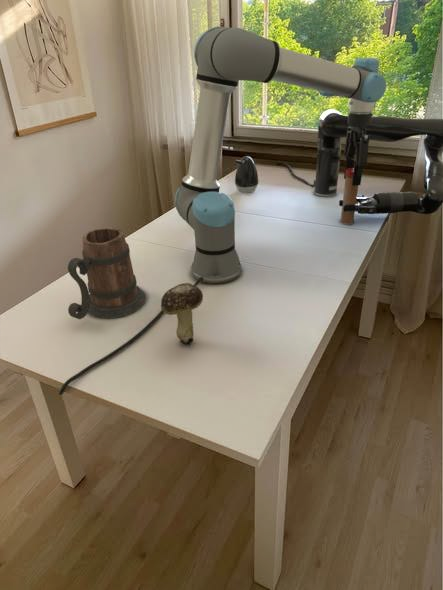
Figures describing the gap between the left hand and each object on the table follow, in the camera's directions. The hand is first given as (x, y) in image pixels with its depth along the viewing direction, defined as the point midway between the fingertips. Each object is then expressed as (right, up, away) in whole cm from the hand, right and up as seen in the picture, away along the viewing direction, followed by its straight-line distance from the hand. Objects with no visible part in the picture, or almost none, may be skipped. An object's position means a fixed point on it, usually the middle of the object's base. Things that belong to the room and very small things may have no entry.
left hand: (351, 181), depth 156 cm
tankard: (-77, -43, -34) cm, 95 cm away
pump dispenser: (-35, +6, +40) cm, 53 cm away
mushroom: (-54, -51, -49) cm, 89 cm away
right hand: (-2, -8, +5) cm, 9 cm away
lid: (0, +3, -2) cm, 4 cm away
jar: (+1, -13, +8) cm, 15 cm away
